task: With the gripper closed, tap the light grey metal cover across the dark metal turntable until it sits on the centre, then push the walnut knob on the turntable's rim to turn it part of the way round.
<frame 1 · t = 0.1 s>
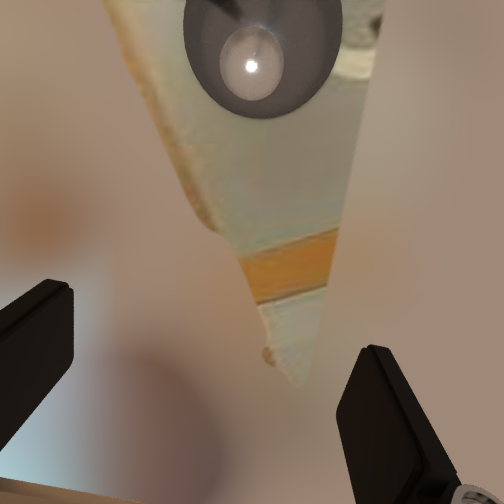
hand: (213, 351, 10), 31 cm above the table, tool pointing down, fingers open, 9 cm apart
turntable: (261, 26, 30), point 3 cm above the table, hinge at 0.0°, touching cover
cover: (253, 70, 34), point 1 cm above the table, touching turntable
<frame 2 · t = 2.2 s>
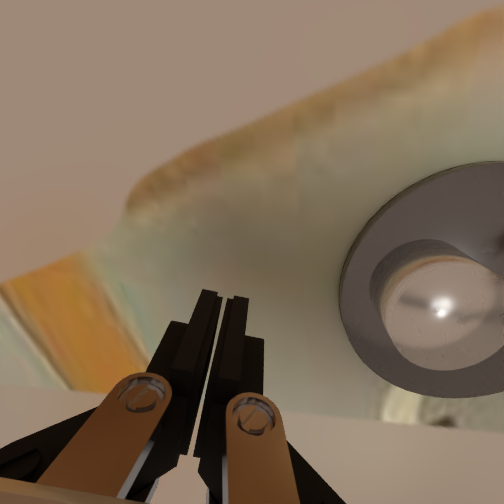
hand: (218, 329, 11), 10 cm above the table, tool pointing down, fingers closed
turntable: (495, 315, 18), point 3 cm above the table, hinge at 0.0°, touching cover
cover: (419, 285, 20), point 1 cm above the table, touching turntable
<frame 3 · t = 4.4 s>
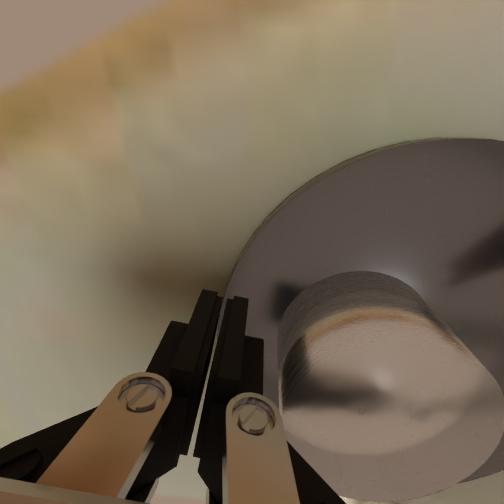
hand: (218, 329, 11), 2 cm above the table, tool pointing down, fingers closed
turntable: (445, 393, 11), point 3 cm above the table, hinge at 0.0°, touching cover
cover: (353, 340, 13), point 1 cm above the table, touching gripper, turntable
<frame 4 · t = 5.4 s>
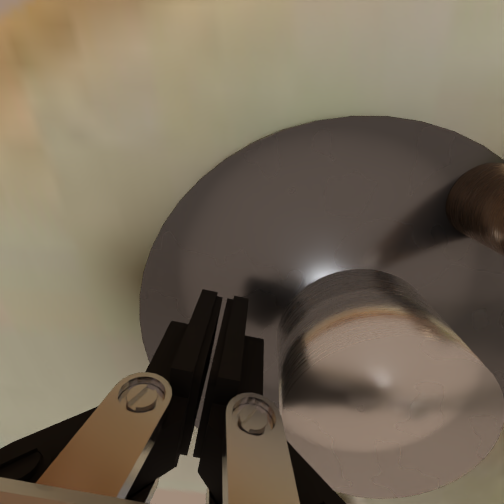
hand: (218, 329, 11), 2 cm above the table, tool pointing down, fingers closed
turntable: (353, 373, 11), point 3 cm above the table, hinge at 0.0°, touching cover
cover: (353, 338, 13), point 1 cm above the table, touching gripper, turntable
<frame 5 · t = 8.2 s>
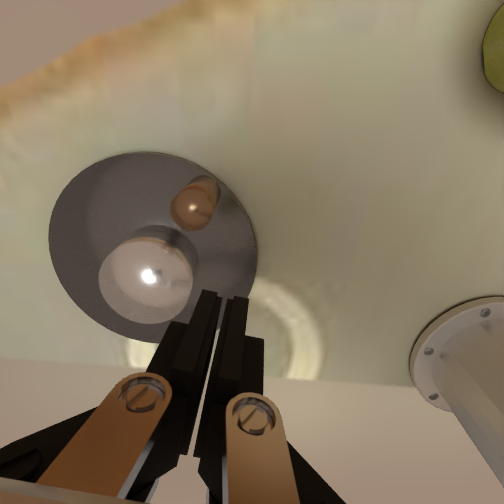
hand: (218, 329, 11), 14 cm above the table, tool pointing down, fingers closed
turntable: (145, 271, 23), point 3 cm above the table, hinge at 0.0°, touching cover
cover: (160, 261, 25), point 1 cm above the table, touching turntable
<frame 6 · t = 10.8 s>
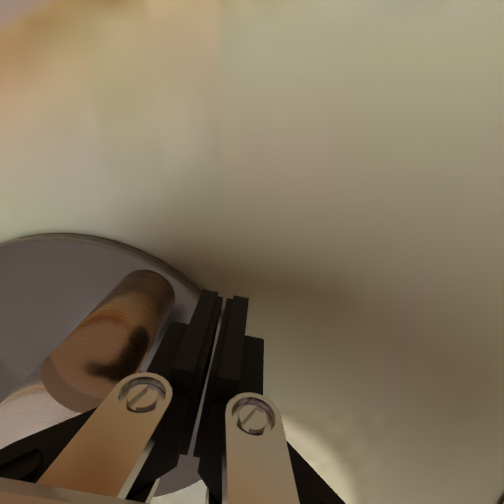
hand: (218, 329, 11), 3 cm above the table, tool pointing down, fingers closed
turntable: (60, 429, 14), point 3 cm above the table, hinge at 1.8°, touching cover, gripper
cover: (95, 395, 16), point 1 cm above the table, touching turntable
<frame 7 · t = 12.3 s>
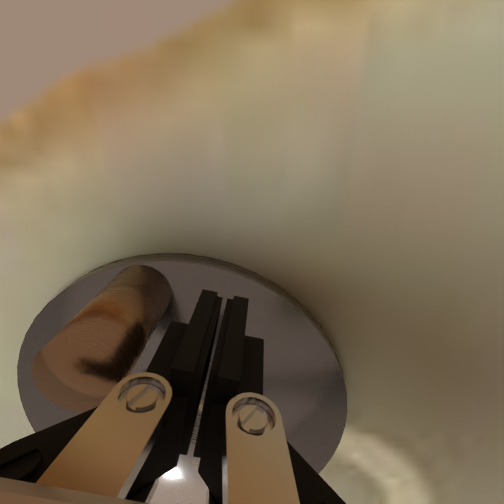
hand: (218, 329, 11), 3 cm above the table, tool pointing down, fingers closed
turntable: (169, 451, 14), point 3 cm above the table, hinge at 45.3°, touching cover, gripper
cover: (189, 408, 16), point 1 cm above the table, touching turntable
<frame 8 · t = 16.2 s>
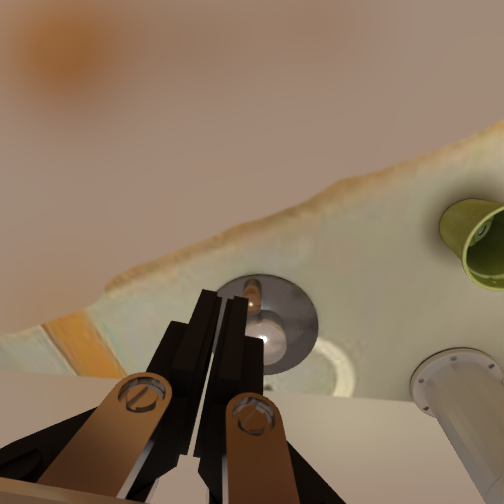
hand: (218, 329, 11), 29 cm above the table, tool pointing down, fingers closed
turntable: (259, 338, 43), point 3 cm above the table, hinge at 45.4°, touching cover
cover: (263, 327, 44), point 1 cm above the table, touching turntable
plant pot: (462, 223, 39), on the table
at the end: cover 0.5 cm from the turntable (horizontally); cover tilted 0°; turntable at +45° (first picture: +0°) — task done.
